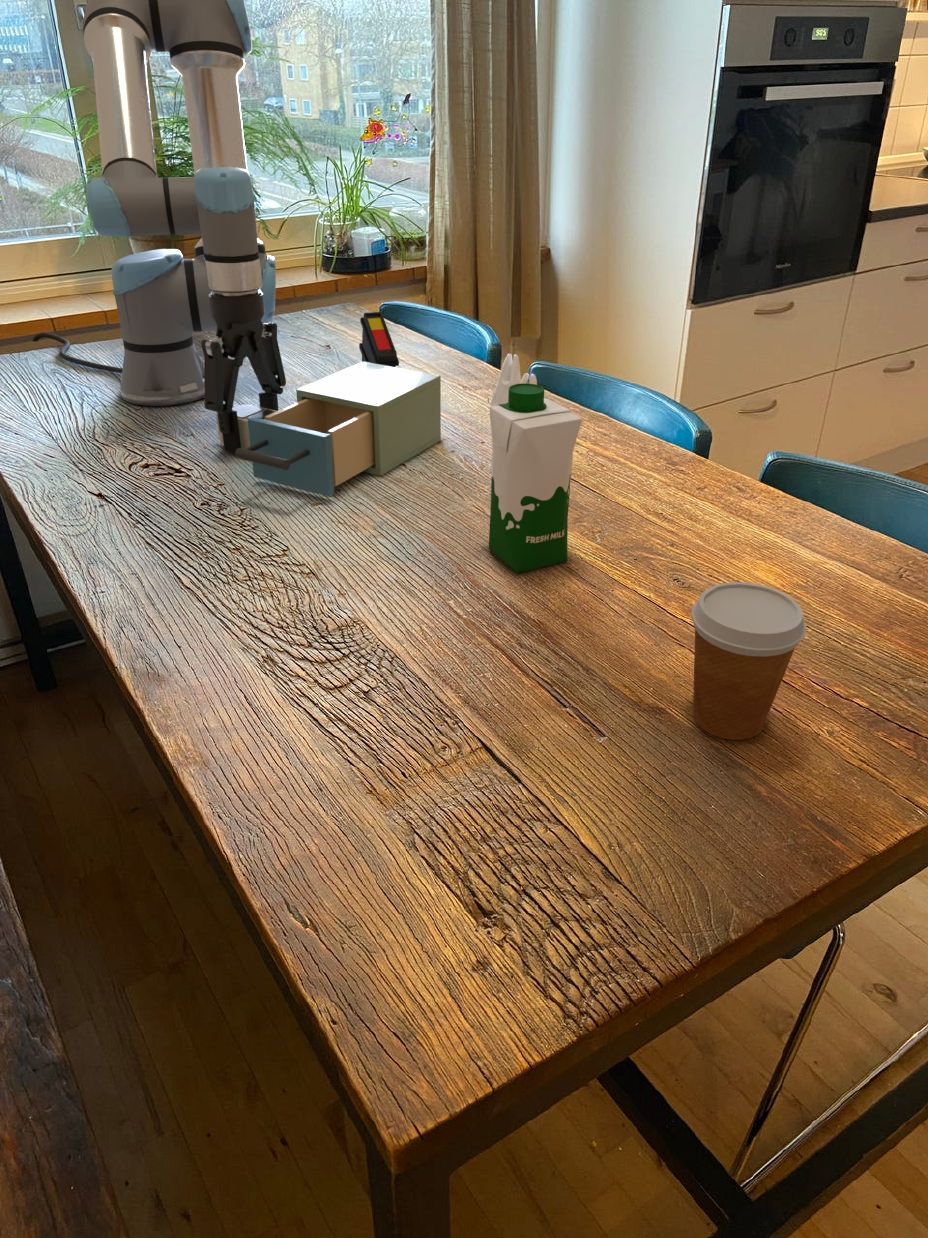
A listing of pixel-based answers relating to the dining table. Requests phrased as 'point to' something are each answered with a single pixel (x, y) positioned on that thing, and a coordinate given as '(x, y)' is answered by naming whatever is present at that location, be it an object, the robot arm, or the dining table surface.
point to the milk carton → (531, 478)
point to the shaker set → (509, 380)
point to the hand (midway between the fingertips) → (252, 442)
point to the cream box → (243, 414)
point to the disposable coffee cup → (741, 655)
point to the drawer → (311, 445)
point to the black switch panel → (377, 341)
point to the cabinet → (387, 407)
